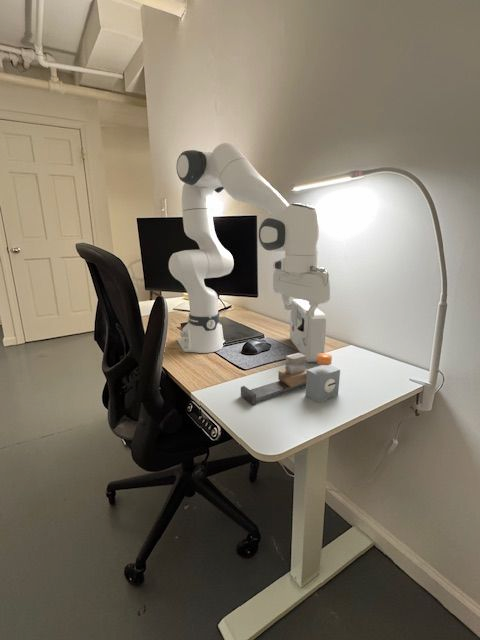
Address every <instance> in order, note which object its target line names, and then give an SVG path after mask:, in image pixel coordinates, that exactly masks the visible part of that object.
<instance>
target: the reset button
mask: <svg viewBox="0 0 480 640" xmlns="http://www.w3.org/2000/svg"><path fill="white" fill-rule="evenodd" d="M332 360H333V356H332V355H331V354H329V353H326V352H324V353H320V354H318V355H317V362H316V363H317V365H319V366H321V365H332Z"/></svg>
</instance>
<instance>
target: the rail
mask: <svg viewBox="0 0 480 640" xmlns="http://www.w3.org/2000/svg"><path fill="white" fill-rule="evenodd" d="M301 388H306V383H303V384H300V385H296V386H293V387H290V386H288V385H286V384H285V383H283V382H282V381H280V380H277V381H275V382H271V383H268V384H264V385H261V386H258V387H254V388H252V389H250V388H248V387H246V386H245V385H242V386H240V397H241V398H242V399H243V400H245V401H246V402H247V403H248V404H250V405H251V406H256V405H257V404H258V403H260V402H263V401H267V400H269V399H273V398H275V397H278V396H281V395H286V394H288V393H290V392H293V391H296V390H299V389H301Z"/></svg>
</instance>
